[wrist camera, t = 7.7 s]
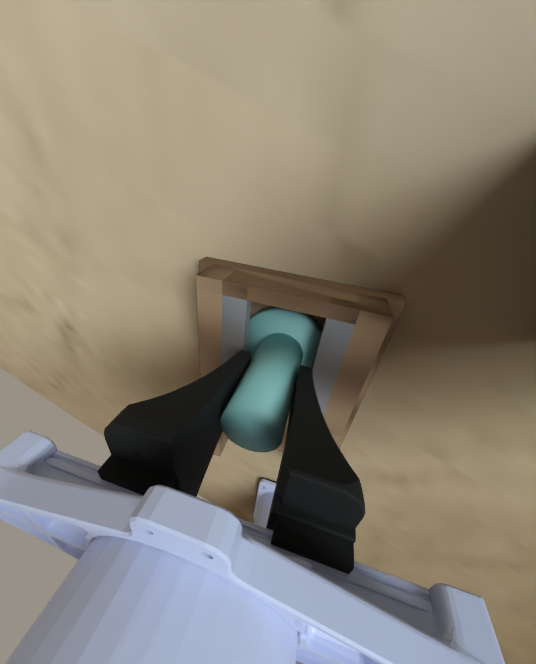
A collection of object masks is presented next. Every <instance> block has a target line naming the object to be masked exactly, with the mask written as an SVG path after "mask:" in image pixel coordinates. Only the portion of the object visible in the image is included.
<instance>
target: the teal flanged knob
mask: <svg viewBox="0 0 536 664" xmlns="http://www.w3.org/2000/svg"><path fill="white" fill-rule="evenodd" d="M322 330H323V328H322V327H321V325H320V324H319V323H318V321H317V320H316V319H315V318H314V317H312V316H311V315H310V314H306V313H301V312H297V311H292V310H288V309H283V308H279V307H274V306H268V307H265V308H263V309H261V310H259V311H257V312H256V313H255V314H254V315H253V316H252V317H251V318H250V321H249V333H248V345H247V351H248V352H252V355H251V362H250V364H249V365H248V367H247V369H246V371H245V373H244V375H243V377H242V379H241V380H240V382H239V384H238V386H237V388H236V390H235V392H234V394H233V395H232V397H231V399H230V401H229V403H228V405H227V407H226V409H225V410H224V412H223V414H222V416H221V420H220V424H221V428H222V430H223V432H224V433H225V435H226V436H227V437H228V438H229V439H230V440H231V441H233V442H234V443H235V444H237V445H239V446H240V447H242V448H245V449H247V450H250V451H255V452H270V451H273V450H275V449H277V448H278V447H279V446H280V445H281V443H282V440H283V436H284V432H285V428H286V424H287V420H288V415H289V411H290V407H291V403H292V399H293V395H294V390H295V385H296V380H297V376H298V372H299V368H300V365H303V366H307V367H310V368H312V367H313V363H314V359H315V356H316V352H317V349H318V345H319V341H320V338H321V334H322Z"/></svg>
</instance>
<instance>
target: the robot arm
mask: <svg viewBox="0 0 536 664" xmlns="http://www.w3.org/2000/svg"><path fill="white" fill-rule="evenodd" d="M251 355H252V352H248V351H244V350H241V351H239V352H238V353H236V354H235V355H234V356H233V357H231V358H230V359H229V360H227V361H226V362H225V363H223V364H222V365H220V366H219V367H218V368H216V369H215V370H213V371H212V372H210V373H208V374H207V375H205V376H204V377H202V378H200V379H198V380H197V381H195V382H193V383H191V384H189V385H187V386H184V387H182V388H180V389H177V390H175V391H173V392H170V393H167V394H165V395H162V396H159V397H156V398H153V399H149V400H146V401H142V402H138V403H134V404H130V405H128V406H127V407H126V408H125V409H124V410H122V411H121V412H120V413H119V415H118V416H117V417H116V418H115V419H114V420H113V421H112V422H111V423H110V424H109V425H108V426H107V427H106V428H105V431H104V436H105V440H106V442H107V445H108V447H109V450H110V452H111V456H110V457H109V458H108V459H107V461H106V462H105V463H104V464H103V465H102V466H98V465H96V464H93V463H91V462H88V461H85V460H83V459H80V458H77V457H74V456H72V455H69V454H67V453H64V452H61V451H58V450H57V448H56V445H55V444H54V442H53V441H51V440H50V439H49V438H47V437H45V436H42V435H39V434H37V433H34V432H31V431H26V432H24V433H23V434H22V435H20V436H19V437H18V438H16V439H15V440H14V441H13V442H11V443H10V444H9V445H7V446H6V447H5V448H4V449H2V450H1V451H0V520H2V521H5V522H7V523H9V524H11V525H13V526H15V527H17V528H19V529H21V530H23V531H25V532H27V533H29V534H31V535H33V536H35V537H36V538H38V539H40V540H42V541H44V542H46V543H48V544H50V545H52V546H54V547H56V548H57V549H59V550H61V551H63V552H65V553H67V554H68V555H71V556H72V557H74V558H76V559H78V561H77V563H76V565H75V566H74V567H73V569H72V570H71V571H70V573H69V574H68V576H67V577H66V579H65V580H64V581H63V583H62V584H61V586H60V587H59V588H58V590H57V591H56V593H55V594H54V595H53V597H52V598H51V600H50V601H49V602H48V604H47V605H46V607H45V608H44V609H43V611H42V612H41V614H40V615H39V616H38V618H37V619H36V621H35V622H34V624H33V625H32V626H31V628H30V629H29V631H28V632H27V633H26V635H25V636H24V638H23V639H22V640H21V642H20V643H19V645H18V646H17V648H16V649H15V650H14V652H13V653H12V655H11V656H10V657H9V659H8V660H7V662H6V663H5V664H505V662H504V659H503V656H502V653H501V650H500V647H499V644H498V641H497V638H496V635H495V632H494V629H493V626H492V623H491V620H490V617H489V614H488V611H487V608H486V605H485V602H484V600H483V599H482V598H481V597H480V596H478V595H475V594H473V593H470V592H467V591H464V590H462V589H459V588H456V587H453V586H451V585H447V584H442V583H437V584H434V585H433V586H432V587H431V588H430V589H427V588H425V587H422V586H419V585H417V584H414V583H411V582H409V581H406V580H403V579H401V578H398V577H395V576H393V575H390V574H387V573H385V572H382V571H379V570H377V569H374V568H371V567H369V566H366V565H363V564H361V563H358V562H355V561H354V547H353V543H354V542H355V540H356V534H355V528H356V527H357V525H358V524H359V523H360V521H361V520H362V519H363V517H364V515H365V503H364V497H363V492H362V487H361V483H360V480H359V478H358V477H357V475H356V474H355V472H354V471H353V470H352V468H351V467H350V465H349V464H348V462H347V461H346V459H345V457H344V456H343V454H342V453H341V451H340V449H339V447H338V446H337V444H336V442H335V440H334V438H333V436H332V435H331V432H330V430H329V428H328V426H327V424H326V421H325V419H324V416H323V414H322V411H321V408H320V405H319V402H318V399H317V395H316V391H315V386H314V381H313V370H312V368H310V367H307V366H303V365H300V368H299V372H298V376H297V380H296V385H295V390H294V395H293V399H292V403H291V407H290V411H289V419H288V426H287V433H286V440H285V447H284V452H283V456H282V461H281V465H280V469H279V474H278V478H277V482H276V483H274V482H271V481H268V480H265V479H261V480H260V482H259V487H258V493H257V498H256V504H255V509H254V515H253V518H254V523H251V522H248V521H246V520H243V519H240V518H238V517H237V516H235V515H234V514H233V513H232V512H231V511H229V510H227V509H225V508H223V507H221V506H219V505H216V504H213V503H211V502H208V501H205V500H202V499H200V498H197V497H196V496H197V494H198V491H199V488H200V486H201V483H202V480H203V478H204V475H205V473H206V470H207V468H208V465H209V463H210V460H211V458H212V455H213V453H214V451H215V448H216V446H217V444H218V441H219V439H220V437H221V434H222V432H223V430H222V428H221V424H220V420H221V416H222V414H223V412H224V410H225V409H226V407H227V405H228V403H229V401H230V399H231V397H232V395H233V394H234V392H235V390H236V388H237V386H238V384H239V382H240V380H241V379H242V377H243V375H244V373H245V371H246V369H247V367H248V365H249V364H250V362H251Z"/></svg>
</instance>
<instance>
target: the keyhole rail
mask: <svg viewBox="0 0 536 664" xmlns="http://www.w3.org/2000/svg"><path fill="white" fill-rule="evenodd" d="M196 289H197V311H198V333H199V354H200V376H201V378H202V377H204V376H205V375H207V374H208V373H210V372H212V371H213V370H215V369H216V368H218V367H219V366H220V365H222V364H223V363H225V362H226V361H227V360H229V359H230V358H231V357H233V356H234V355H235V354H236V353H238V352H239V351H241V350H244V351H247V345H248V333H249V321H250V318H251V317H252V316H253V315H254V314H255V313H256V312H257V311H259V310H261V309H263V308H265V307H268V306H274V307H279V308H283V309H288V310H292V311H297V312H301V313H306V314H310V315H311V316H312V317H314V318H315V319H316V320H317V321H318V323H319V324H320V325H321V327H322V328H323V330H322V334H321V338H320V341H319V345H318V349H317V352H316V356H315V359H314V363H313V367H312V370H313V381H314V386H315V391H316V395H317V399H318V402H319V405H320V408H321V411H322V414H323V416H324V419H325V421H326V424H327V426H328V428H329V430H330V432H331V435H332V436H333V438H334V440H335V442H336V444H337V446H338V447H339V449H340V447H341V445H342V442H343V440H344V438H345V436H346V434H347V431H348V429H349V427H350V425H351V423H352V421H353V418H354V416H355V414H356V412H357V410H358V407H359V405H360V403H361V401H362V399H363V397H364V394H365V392H366V390H367V388H368V386H369V383H370V381H371V379H372V377H373V375H374V373H375V370H376V368H377V366H378V364H379V362H380V359H381V357H382V355H383V353H384V351H385V349H386V346H387V344H388V342H389V340H390V338H391V335H392V333H393V331H394V329H395V327H396V325H397V322H398V320H399V318H400V316H401V314H402V311H403V309H404V307H405V305H406V301H405V299H404V297H403V296H402V295H397V294H392V293H387V292H381V291H376V290H371V289H366V288H361V287H356V286H351V285H346V284H341V283H336V282H331V281H326V280H321V279H316V278H311V277H306V276H301V275H296V274H291V273H286V272H280V271H275V270H270V269H265V268H260V267H255V266H250V265H245V264H240V263H235V262H230V261H225V260H220V259H215V258H210V257H205V258H203V259H202V260H200V261H199V273H198V274H197V275H196ZM288 419H289V415H288ZM287 426H288V420H287V424H286V428H285V432H284V436H283V440H282V443H281V445H280V446H279V447H278V448H277V449H275V450H279V451H282V452H284V447H285V440H286V433H287ZM227 440H228V437H227V436H226V435H225V433H224V432H222V434H221V437H220V439H219V441H218V444H217V446H216V448H215V451H214V453H213V454H214V455H217V456H220V455H221V453H222V451H223V449H224V446H225V444H226V442H227Z"/></svg>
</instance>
